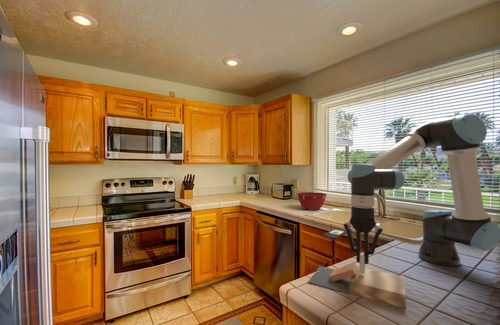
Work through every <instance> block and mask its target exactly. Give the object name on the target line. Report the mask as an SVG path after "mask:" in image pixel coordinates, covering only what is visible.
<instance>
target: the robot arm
mask: <svg viewBox="0 0 500 325" xmlns="http://www.w3.org/2000/svg"><path fill="white" fill-rule="evenodd" d="M486 126H487V125H486V124H485V122H484V120H483V119H482V118H480V117H479V116H478V115H475V114H472V113H468V114H467V113H464V114H457V115H454V116H449V117H445V118H439V119H433V120H429V121H427V122H425V123H423V124H421V125H419V126H417V127H415V128H414V129H411V131H409V132H408V133H406V134H405V135H404V136H403V139H401V140H400V141H397V142H396V144H394V145H392V146H391V147H390V148H388V149H387V150H385V151H383V152H382V153H380V154H379V155H377V156H376V157H374V158H372V159H371V160H369V162H367V163H354V164H352V165H351V169H350V170H349V171H348V173H347V180H348V182H349V183H350V188H351V189H350V190H351V191H350V192H351V193H350V194H351V196H350V201H351V203H350V204H351V205H352V206H351V207H350V211H351V212H350V219H349V221H348V222H345V223H344V224H343V227H344V229H345V232H346V235H347V238H348V243H349V246H350V247H349V248H350V250H351V252H354V253H355V254H356V263H359V267H360V273H363V274H365V268H366V265H369V261H370V260H369V259H370V258H369V257H370V255H375V254H374V253H375V250H376V247H377V244H378V240H379V236H380V235H381V233H383V230H384V229H383V227H382V226H379V225H378V224H377V223H376V220H375V208H374V207H375V191H378V190H391V191H392V190H399V189H401V188H402V187H403V186H404V185H405V176H404V174H403V172H402V171H401V170H399V169H396V168H395V167H396V166H397V165H399V164H401V162H403V161H405V160H406V159H407V158H409V157H410V156H412V155H414V154H415V153H418V152H423V151H424V150H425V149H428V148H433V147H440V148H441V152H442V153H444V154H445V155H447V156H446V158H447V162H448V163H447V164H448V170H449V176H450V182H451V189H452V190H451V191H452V195H453V196H452V197H453V202H454V203H453V204H454V210H450V209H426V210H424V211H423V214H422V242H421V244H420V246H419V249H418V257H419V258H420V259H422V261H423V260H424V261H425V262H428V263H431V264H435V265H439V266H447V267H457V266H460V265H461V257H460V255H459V252H458V250H457V247H456V244H459V245H463V246H466V247H469V248H472V249H475V250H476V249H477V250H481V251H485V252H486V251H490V250H493V249H494V248H495V247H497V246H498V244H499V242H500V225H499V224H498V223H497V222H495V221H492V219H491V215H490V214H489V213H488V212H487V211H485V208H484V202H483V195H482V188H481V182H480V181H481V180H480V174H479V166H478V161H477V154H476V153H477V150H479V149H480V148H481V143H482V142H484V141H485V140H486V136H487V135H488V134H487V133H488V131H487V127H486ZM393 168H395V169H393ZM351 227H353V229H354V230H355V233H356V234H355V235H356V236H355V238H356V241H355V240H354V237H353V236H354V235H353V232H352V229H351ZM373 229H374V237H373V241H372V242H371V243H372V245H371V247H369V246H370V245H369V244H370V243H369V242H370V240H369V239H370V238H369V234H370V232H371V231H373ZM362 233H363V235H364V236H363V237H364V238H363V240H364V241H363V245H364V246H363V250H364V251H363V252H361V251H362V250H361V249H362V246H361V245H362V239H361V238H362ZM355 242H356V243H355Z"/></svg>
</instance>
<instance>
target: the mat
mask: <svg viewBox="0 0 500 325" xmlns="http://www.w3.org/2000/svg"><path fill="white" fill-rule="evenodd" d="M325 268H326V269H325ZM333 270H336V269H333V268H331V267H326V266H321V265H319V266H318V268H316V270H315V272H316V273H315V272H314V273H313V274H312V276H311V277H310V279H309V280H307V283H308V284H310V285H315V286H318V287H321V288H325V289H329V290H332V291H336V292H340V293H342V294H347V295H349V294H350V293H349V281H350V278H351V277H347V278H344V279H340V280H337V281H333V282H332V280H331V278H330V275H331V273H332V271H333ZM318 271H319V272H318Z"/></svg>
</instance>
